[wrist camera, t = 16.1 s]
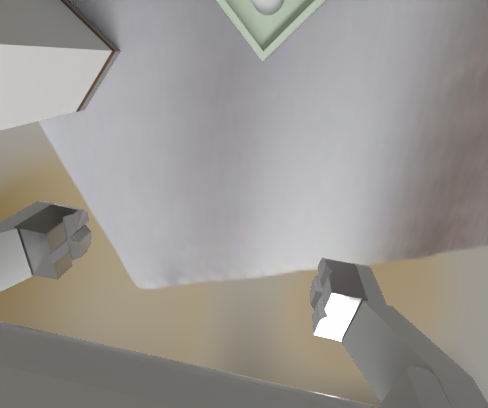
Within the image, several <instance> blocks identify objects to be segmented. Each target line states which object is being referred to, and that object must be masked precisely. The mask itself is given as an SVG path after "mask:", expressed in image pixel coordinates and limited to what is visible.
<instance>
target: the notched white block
mask: <svg viewBox="0 0 488 408" xmlns="http://www.w3.org/2000/svg"><path fill="white" fill-rule="evenodd" d="M119 53H120V51H119V50H118V49H117V48H116V47H115V46H114V45H113V44H112V43H111V42H110V41H109V40H108V39H107V38H106V37H105V36H104V35H103V34H102V33H101V32H100V31H99V30H98V29H97V28H96V27H95V26H94V25H93V24H92V23H91V22H90V21H89V20H88V19H87V18H86V17H85V16H84V15H83V14H82V13H81V12H80V11H79V10H78V9H77V8H76V7H75V6H74V5H73V4H72V3H71V2H70V1H68V0H0V130H3V129H7V128H11V127H15V126H19V125H24V124H28V123H32V122H36V121H40V120H44V119H48V118H53V117H57V116H61V115H65V114H69V113H73V112H77V111H81V110H85V108H86V106H87V105H88V103H89V101H90V100H91V98H92V97H93V95H94V93H95V92H96V90H97V88H98V87H99V85H100V83H101V82H102V80H103V79H104V77H105V75H106V74H107V72H108V70H109V69H110V67H111V66H112V64H113V62H114V61H115V59H116V57H117V56H118V54H119Z"/></svg>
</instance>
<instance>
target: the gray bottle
mask: <svg viewBox="0 0 488 408" xmlns="http://www.w3.org/2000/svg"><path fill="white" fill-rule="evenodd" d="M251 1H252V3H253V5H254V6H255V8H256V10H257V11H258V12H259V13H261V14H263V15H273V14H275V13H276V12H278V11H279V10H280V8H281V7H282V5H283V3H284V0H251Z"/></svg>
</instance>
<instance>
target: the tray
mask: <svg viewBox="0 0 488 408" xmlns="http://www.w3.org/2000/svg"><path fill="white" fill-rule="evenodd" d="M216 1H217V2H218V3H219V5H220V6H221V7H222V9H223V10H224V11H225V13H226V14H227V15H228V17H229V18H230V19H231V20H232V22H233V23H234V24H235V26H236V27H237V28H238V30H239V31H240V32H241V34H242V35H243V36H244V38H245V39H246V40H247V42H248V43H249V44H250V46H251V47H252V48H253V50H254V51H255V52H256V54H257V55H258V56H259V58H260V59H261V60H262V61H264V60H266V59H267V58H268V57H269V56H270V55H271V54H272V53H273V52H274V51H275V50H276V49H277V48H278V47H279V46H280V45H281V44H282V43H283V42H284V41H285V40H286V39H287V38H288V37H289V36H290V35H291V34H292V33H293V32H294V31H295V30H296V29H297V28H298V27H299V26H300V25H301V24H302V23H303V22H304V21H305V20H306V19H307V18H308V17H310V16H311V15H312V14H313V13H314V12H315V11H316V10H317V9H318V8H319V7H320V6H321V5H322V4H323V3H324V2H325V1H326V0H284V3H283V5H282V7H281V8H280V10H279V11H278V12H276V13H275V14H273V15H263V14H261V13H259V12H258V11H257V10H256V8H255V6H254V5H253V3H252V1H251V0H216Z"/></svg>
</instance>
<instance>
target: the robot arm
mask: <svg viewBox="0 0 488 408" xmlns="http://www.w3.org/2000/svg"><path fill="white" fill-rule="evenodd" d="M87 222H89V218H88V213H87V212H86V211H85V210H83V209H78V208H74V207H70V206H65V205H61V204H55V203H51V202H46V201H37V202H35V203H33V204H32V205H30V206H28V207H26V208H25V209H23V210H21V211H19V212H17V213H16V214H14V215H12V216H10V217H8V218H7V219H5V220H3V221H1V222H0V291H2V290H4V289H7V288H8V287H11V286H13V285H15V284H17V283H19V282H21V281H23V280H25V279H27V278H30V277H32V275H36V276H41V277H46V278H52V279H57V280H58V279H59V278H60V277H61V276H62V275H63V274H64V273H65V272H66V271H67V270H68V269H69V268H71V267H72V263H73V260H75V259H77V258H80V257H82V256H83V255H84V254H85V253H86V252H87V250H88V248H89V246H90V244H91V239H92V236H91V231H90V230H89V228H88V227H87V226H86V224H87ZM318 271H319V274H318V275H317V276H315V277H314V279H313V282H312V286H311V291H310V302H311V306H312V307H313V308H314V313H313V315H312V321H313V329H314V335H318V336H322V337H326V338H330V339H334V340H338V341H342V342H341V343H342V344H343V346H344V347H345V349H346V350H347V352H348V353H349V355H350V356H351V358H352V359H353V361H354V362H355V364H356V365H357V367H358V368H359V370H360V371H361V373H362V374H363V376H364V377H365V379H366V380H367V382H368V383H369V385H370V386H371V388H372V389H373V391H374V392H375V394H376V395H377V397H378V398H379V400H380V401H381V403H380V405H379V406H376V405H371V404H367V403H362V402H358V401H353V400H349V399H345V398H340V397H336V396H331V395H327V394H322V393H318V392H314V391H309V390H305V389H300V388H296V387H291V386H287V385H283V384H278V383H273V382H269V381H265V380H259V379H255V378H251V377H246V376H242V375H238V374H233V373H229V372H224V371H220V370H215V369H211V368H206V367H202V366H197V365H193V364H189V363H184V362H179V361H175V360H171V359H166V358H162V357H157V356H153V355H148V354H144V353H140V352H135V351H131V350H126V349H121V348H117V347H113V346H108V345H104V344H100V343H95V342H91V341H86V340H82V339H77V338H73V337H68V336H64V335H59V334H55V333H51V332H46V331H42V330H38V329H33V328H29V327H24V326H20V325H15V324H11V323H6V322H2V321H0V408H488V403H487V401H486V399H485V398H484V396H483V394H482V393H481V391H480V389H479V388H478V386H477V384H476V383H475V381H474V379H473V378H472V377H471V376H470V375H469V374H468V373H467V372H465V371H464V370H463V369H462V368H461V367H460V366H459V365H458V364H456V363H455V362H454V361H453V360H452V359H451V358H450V357H448V355H446V354H445V353H444V352H443V351H442V350H441V349H440V348H439V347H437V346H436V345H435V344H434V343H433V342H432V341H431V340H430V339H428V338H427V337H426V336H425V335H424V334H423V333H422V332H421V331H419V330H418V329H417V328H416V327H415V326H414V325H413V324H412V323H410V322H409V321H408V320H407V319H406V318H405V317H404V316H403V315H401V314H400V313H399V312H398V311H397V310H396V309H395V308H394V307H392V306H389V305H387V304H386V302H385V299H384V297H383V295H382V292H381V290H380V288H379V285H378V283H377V281H376V278H375V276H374V274H373V271H372V269H371V268H370V267H369V266H366V265H360V264H354V263H353V264H351V263H346V262H341V261H336V260H331V259H326V258H322V259H321V261H320V263H319V265H318Z"/></svg>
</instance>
